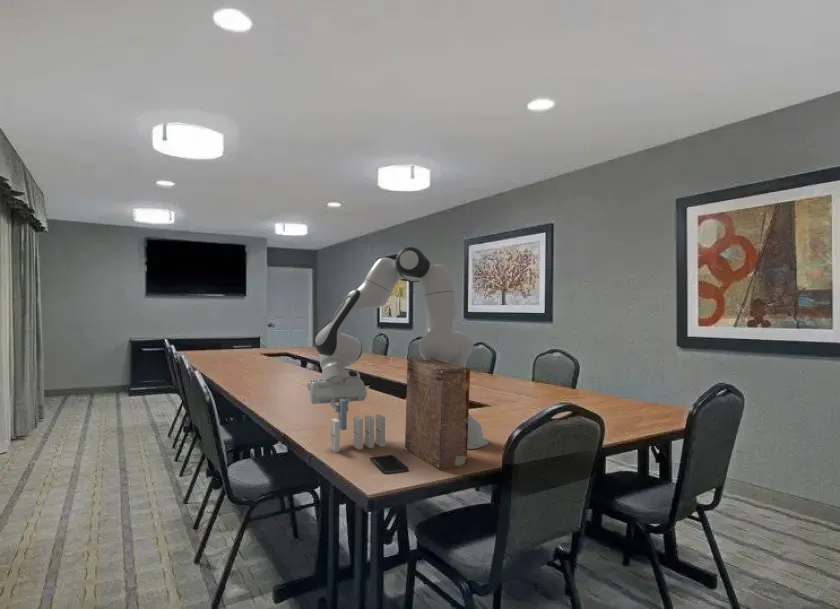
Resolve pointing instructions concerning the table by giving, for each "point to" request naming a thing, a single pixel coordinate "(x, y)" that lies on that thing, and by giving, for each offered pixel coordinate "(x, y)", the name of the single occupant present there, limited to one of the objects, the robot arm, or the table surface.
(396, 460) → the phone
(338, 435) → the domino
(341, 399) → the domino
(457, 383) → the book
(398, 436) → the table surface
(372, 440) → the domino
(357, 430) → the domino
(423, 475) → the table surface
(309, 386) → the robot arm
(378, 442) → the domino
